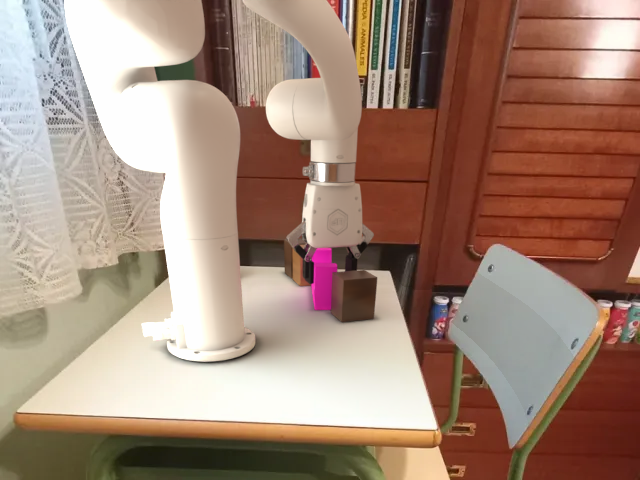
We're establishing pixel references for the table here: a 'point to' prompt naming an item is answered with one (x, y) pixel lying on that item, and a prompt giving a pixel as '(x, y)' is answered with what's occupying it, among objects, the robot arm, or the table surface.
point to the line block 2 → (353, 295)
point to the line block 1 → (290, 256)
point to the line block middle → (298, 269)
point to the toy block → (322, 278)
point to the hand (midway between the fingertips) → (329, 279)
